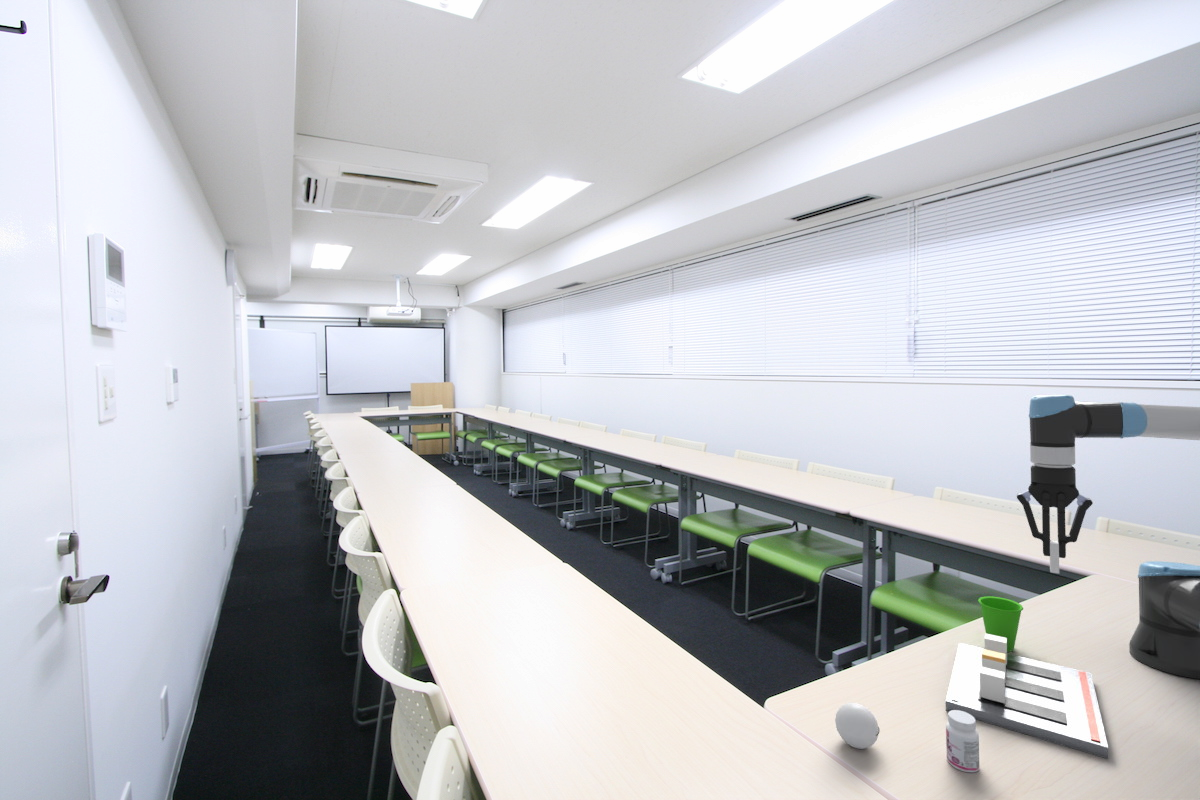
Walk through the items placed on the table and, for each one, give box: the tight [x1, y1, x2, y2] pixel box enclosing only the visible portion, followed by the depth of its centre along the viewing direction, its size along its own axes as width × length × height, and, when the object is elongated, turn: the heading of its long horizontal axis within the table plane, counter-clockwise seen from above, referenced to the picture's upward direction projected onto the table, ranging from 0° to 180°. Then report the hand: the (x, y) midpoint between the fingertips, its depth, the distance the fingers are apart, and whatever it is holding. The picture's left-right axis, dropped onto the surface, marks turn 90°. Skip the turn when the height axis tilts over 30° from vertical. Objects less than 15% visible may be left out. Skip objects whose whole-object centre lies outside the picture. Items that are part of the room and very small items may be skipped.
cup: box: [977, 595, 1024, 653], centre depth 132 cm, size 9×9×11 cm
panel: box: [945, 642, 1109, 759], centre depth 112 cm, size 24×30×2 cm
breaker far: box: [984, 632, 1008, 665], centre depth 122 cm, size 4×3×5 cm
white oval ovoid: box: [834, 702, 881, 750], centre depth 100 cm, size 10×7×7 cm
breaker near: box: [980, 666, 1005, 703], centre depth 108 cm, size 4×3×5 cm
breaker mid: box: [982, 649, 1006, 683], centre depth 115 cm, size 4×3×5 cm
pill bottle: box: [945, 710, 980, 773], centre depth 93 cm, size 5×5×8 cm
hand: (1054, 571), depth 117 cm, fingers closed
